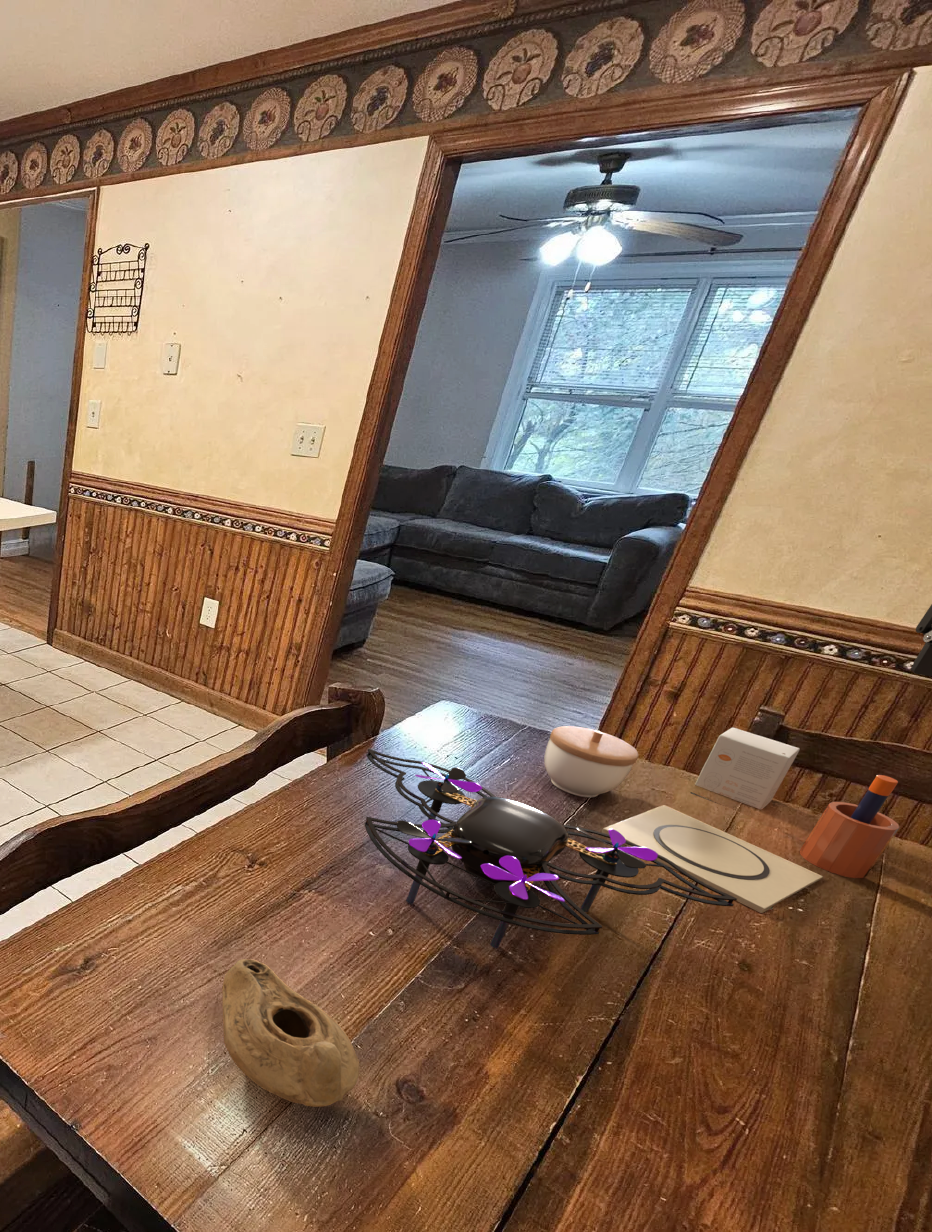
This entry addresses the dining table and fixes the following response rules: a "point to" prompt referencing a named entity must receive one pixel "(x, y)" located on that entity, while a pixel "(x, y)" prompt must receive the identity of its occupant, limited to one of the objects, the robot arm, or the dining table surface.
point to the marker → (874, 798)
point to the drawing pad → (716, 857)
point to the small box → (746, 767)
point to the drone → (514, 852)
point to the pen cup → (847, 841)
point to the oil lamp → (285, 1038)
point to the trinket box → (587, 760)
